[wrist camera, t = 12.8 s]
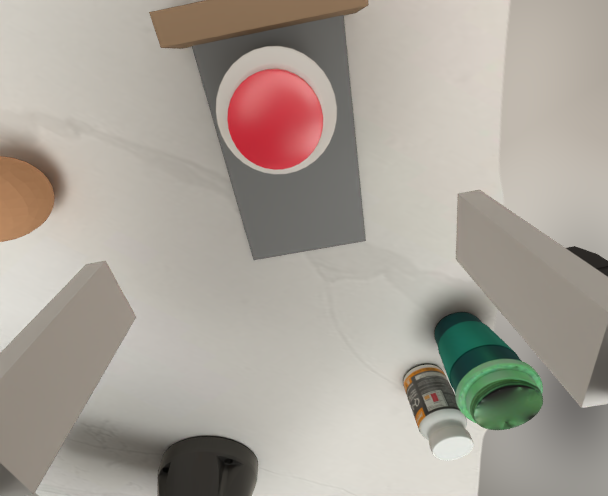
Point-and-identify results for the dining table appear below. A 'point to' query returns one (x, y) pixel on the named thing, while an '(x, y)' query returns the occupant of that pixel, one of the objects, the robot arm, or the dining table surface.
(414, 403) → the pill bottle
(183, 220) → the dining table surface
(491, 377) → the cup
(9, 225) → the egg
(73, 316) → the robot arm
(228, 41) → the track
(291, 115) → the pill bottle
